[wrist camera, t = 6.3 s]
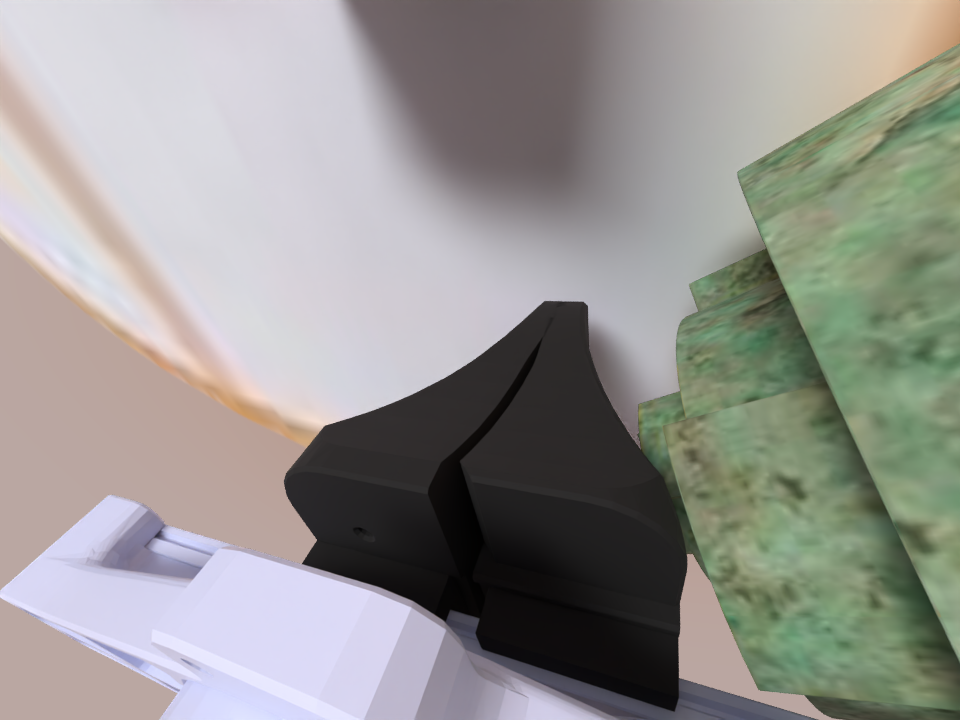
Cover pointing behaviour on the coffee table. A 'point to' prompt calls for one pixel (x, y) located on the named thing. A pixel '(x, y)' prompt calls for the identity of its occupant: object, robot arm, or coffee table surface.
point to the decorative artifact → (834, 412)
